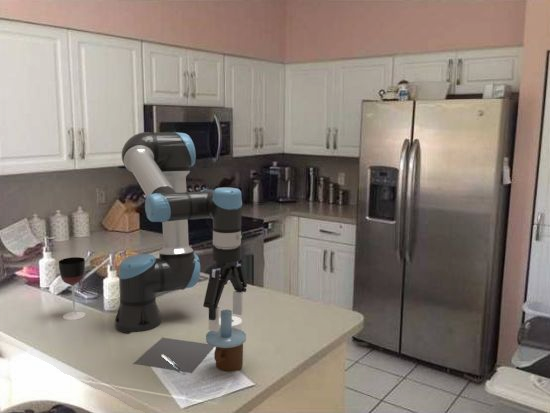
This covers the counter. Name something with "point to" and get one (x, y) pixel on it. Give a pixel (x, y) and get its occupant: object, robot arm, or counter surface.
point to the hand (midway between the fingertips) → (226, 321)
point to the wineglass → (72, 280)
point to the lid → (226, 333)
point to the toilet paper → (234, 322)
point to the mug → (229, 358)
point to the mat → (175, 354)
